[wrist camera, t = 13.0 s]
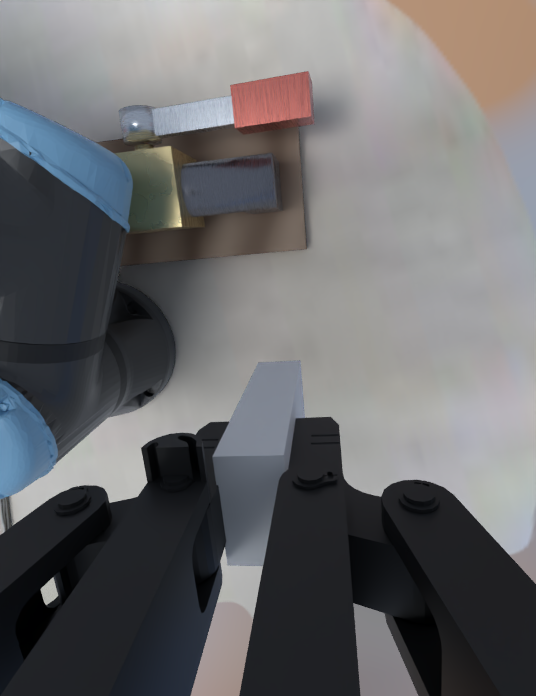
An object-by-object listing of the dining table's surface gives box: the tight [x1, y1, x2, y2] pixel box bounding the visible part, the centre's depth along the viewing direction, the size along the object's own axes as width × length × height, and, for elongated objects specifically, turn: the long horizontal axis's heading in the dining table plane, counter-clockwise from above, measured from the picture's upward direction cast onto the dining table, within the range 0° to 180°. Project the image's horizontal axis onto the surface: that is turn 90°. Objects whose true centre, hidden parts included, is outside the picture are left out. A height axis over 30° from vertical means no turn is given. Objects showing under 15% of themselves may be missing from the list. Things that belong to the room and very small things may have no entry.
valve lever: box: [119, 71, 314, 146], centre depth 35 cm, size 3×3×16 cm
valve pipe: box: [114, 144, 283, 234], centre depth 38 cm, size 18×7×8 cm, turn 96°
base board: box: [96, 127, 307, 266], centre depth 43 cm, size 22×12×2 cm, turn 96°
